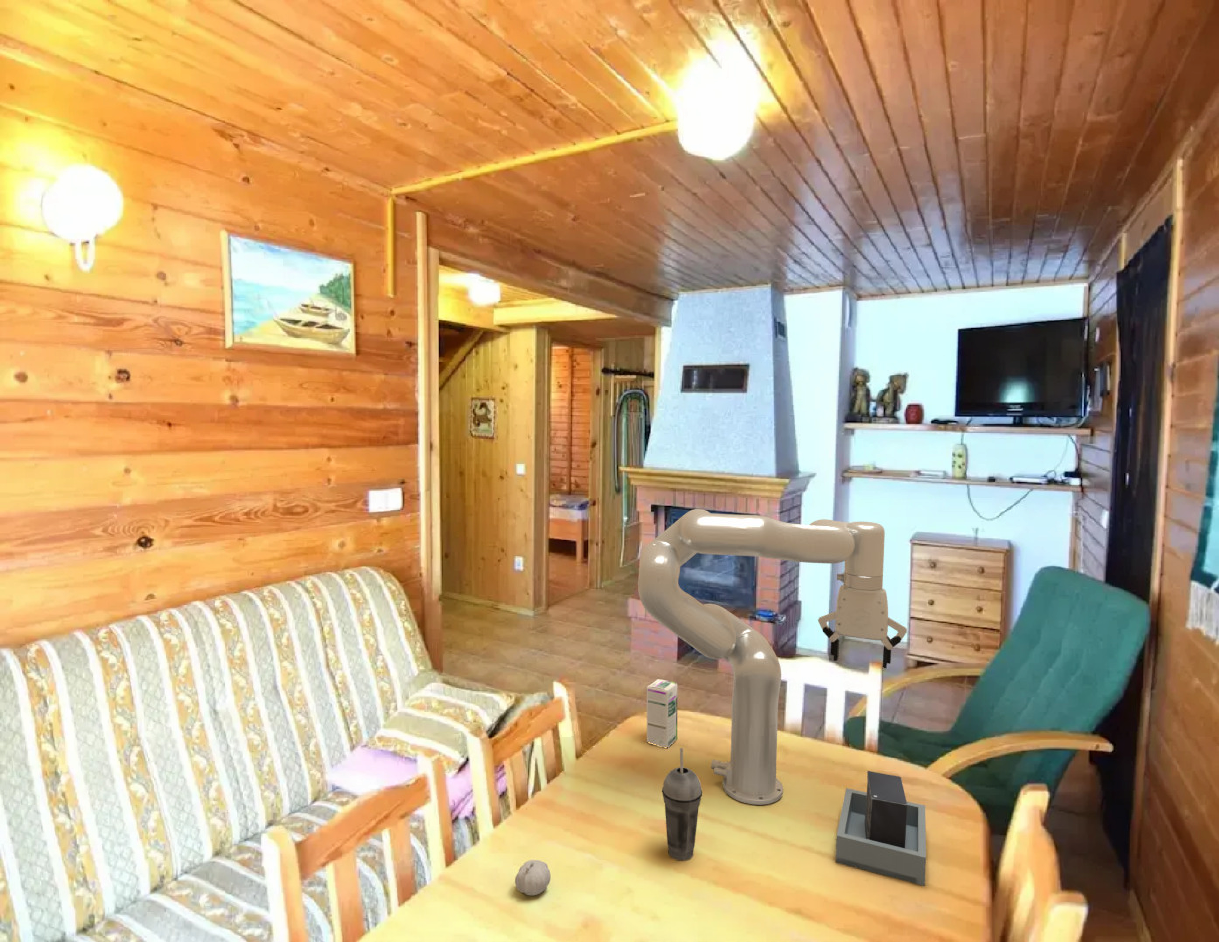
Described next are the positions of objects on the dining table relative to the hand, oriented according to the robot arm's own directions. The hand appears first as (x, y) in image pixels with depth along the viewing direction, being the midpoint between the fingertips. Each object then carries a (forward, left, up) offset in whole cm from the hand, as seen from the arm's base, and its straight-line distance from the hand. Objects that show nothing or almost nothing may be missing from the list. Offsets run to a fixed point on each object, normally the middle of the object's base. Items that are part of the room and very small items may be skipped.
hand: (860, 662), depth 141 cm
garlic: (-46, -55, -29) cm, 77 cm away
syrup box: (-45, +4, -28) cm, 53 cm away
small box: (+6, -17, -28) cm, 33 cm away
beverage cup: (-27, -35, -28) cm, 53 cm away
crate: (+6, -17, -28) cm, 34 cm away
